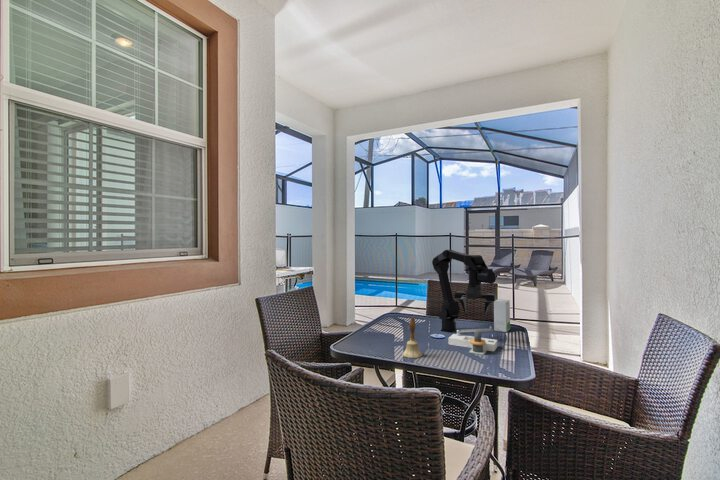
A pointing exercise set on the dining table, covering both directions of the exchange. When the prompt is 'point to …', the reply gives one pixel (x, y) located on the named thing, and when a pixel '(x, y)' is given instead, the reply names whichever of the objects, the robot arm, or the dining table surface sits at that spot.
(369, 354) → the dining table surface
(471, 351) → the mat
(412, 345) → the hand bell
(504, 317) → the skincare box
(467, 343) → the power strip
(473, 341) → the plug
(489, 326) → the clip
